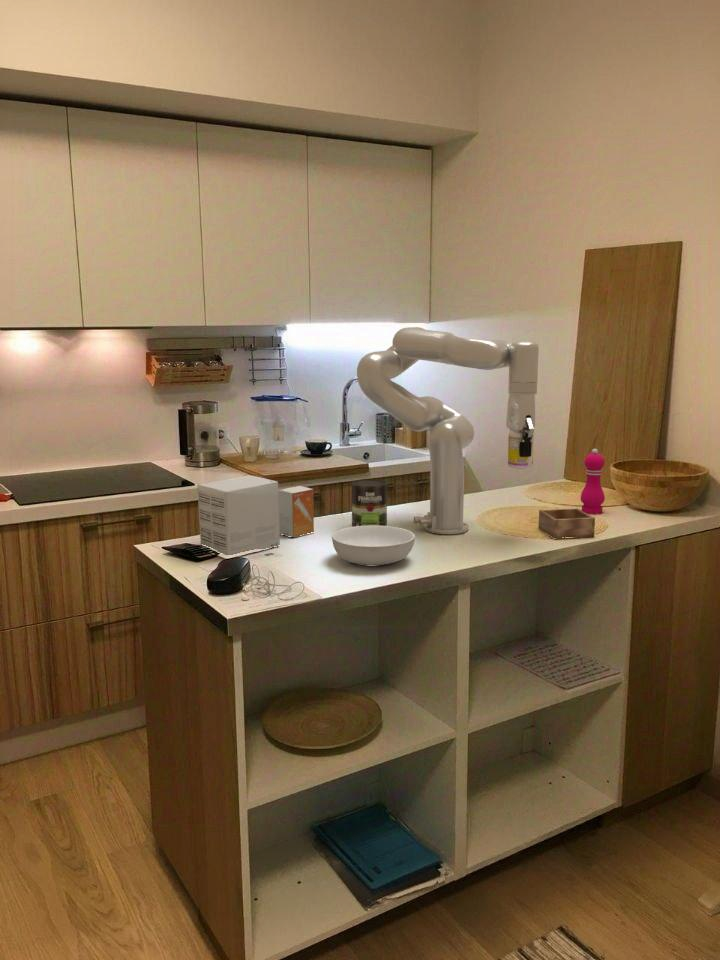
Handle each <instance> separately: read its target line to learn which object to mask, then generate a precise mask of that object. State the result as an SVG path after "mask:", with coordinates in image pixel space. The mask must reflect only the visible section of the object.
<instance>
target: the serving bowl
mask: <svg viewBox="0 0 720 960" xmlns="http://www.w3.org/2000/svg"><path fill="white" fill-rule="evenodd" d="M415 540H416V535H415V533H414V532H412V531H410V530H409V529H405V528H401V527H397V526H389V525H387V526H378V525H368V526H355V527H352V526H350V527H345V528H341V529H339V530H336V531H333V533H332V534H331V542H332V545H333V548H334V550H335V552H336V553H337V554H338V556H339V557H340V558H342V559H343V560H345V561H347V562H349V563H353V564H356V565H360V564H362V565H361V566H365V565H381V566H385V565H384V564H386V565H389V564H393V563H396V562H398V561H401V560H403V559H405V558H406V557H407V556H408V555H409V554H410V553H411V551H412V549H413V547H414V545H415Z"/></svg>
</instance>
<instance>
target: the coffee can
mask: <svg viewBox="0 0 720 960" xmlns="http://www.w3.org/2000/svg"><path fill="white" fill-rule="evenodd" d="M350 486H351V527H355V526H368V525H378V526H388V523H387V522H388V519H387V518H388V509H387V508H388V482H387V481H385V480H382V479H375V478H368V479H367V478H365V479H364V478H363V479H362V478H361V479H356V480H352V481H351V482H350Z"/></svg>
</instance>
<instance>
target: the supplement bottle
mask: <svg viewBox="0 0 720 960" xmlns="http://www.w3.org/2000/svg"><path fill="white" fill-rule="evenodd" d="M523 430H527V429H523ZM524 436H525V433H524ZM507 439H508V440H507V441H508V447H507V467H508V468H511V469H516V470H526V469H530V468H532V467H533V461H534V458H533V457H534V433H533V436H532V450H531V456H530V457H520V456H519V446H520V442H521V436H520V431H519V432H516V431H513V430H510V429H509V432H508V437H507Z"/></svg>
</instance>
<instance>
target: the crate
mask: <svg viewBox="0 0 720 960" xmlns="http://www.w3.org/2000/svg"><path fill="white" fill-rule="evenodd" d="M595 525H596V517H594V516H592V515H591V514H587V513H585V512H583V511H582V509H579V508H576V507H575V508H556V509H554V508H553V509H539V511H538V529H539V530H540V529H541V530H542V531H541V530H540V531H541V532H543V531H544V532H546V533H547V534H549V535H550V536H552V537H553V538H562V537H564V538H565V537H574V538H573V539H587V538H589V539H590V538H595ZM544 532H543V533H544ZM547 534H546V535H547ZM550 536H549V537H550ZM575 537H577V538H575ZM578 537H579V538H578ZM553 538H552V539H553Z"/></svg>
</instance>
